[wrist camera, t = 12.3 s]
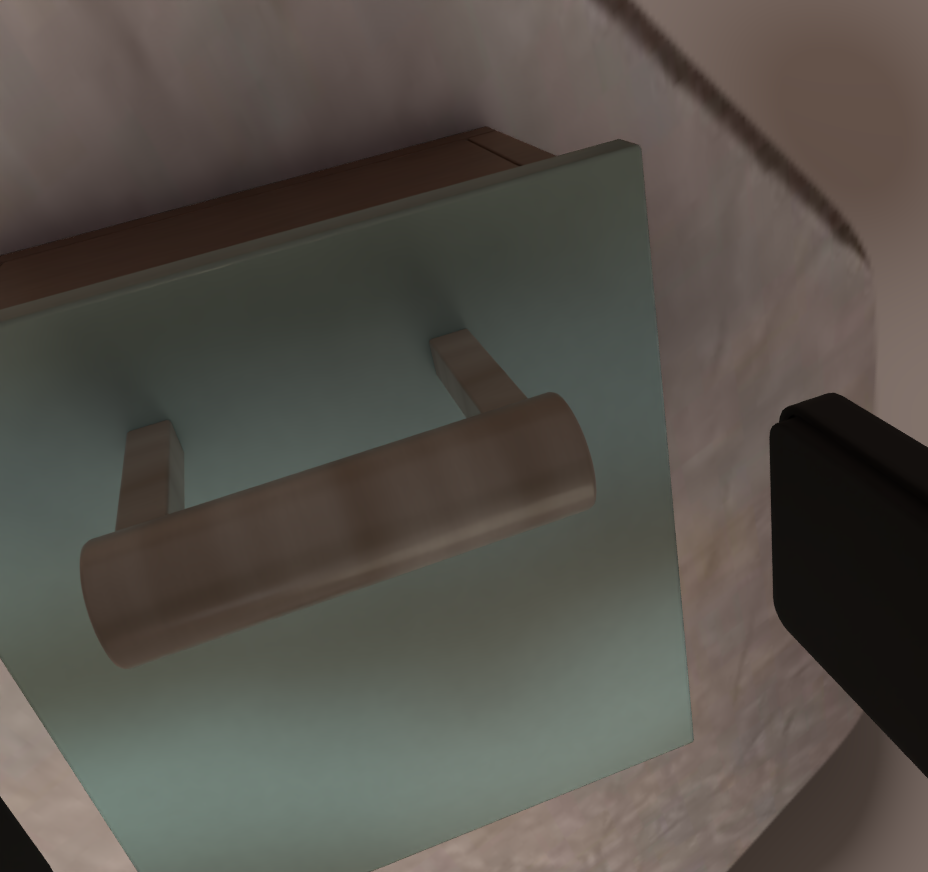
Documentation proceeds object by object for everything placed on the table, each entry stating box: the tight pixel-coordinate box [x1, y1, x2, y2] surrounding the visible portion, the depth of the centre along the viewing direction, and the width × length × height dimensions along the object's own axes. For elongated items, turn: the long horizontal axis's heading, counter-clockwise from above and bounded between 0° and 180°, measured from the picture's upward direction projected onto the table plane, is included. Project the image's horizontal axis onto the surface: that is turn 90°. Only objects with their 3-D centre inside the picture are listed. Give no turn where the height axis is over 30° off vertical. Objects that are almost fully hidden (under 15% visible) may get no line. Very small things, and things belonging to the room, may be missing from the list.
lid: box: [0, 139, 694, 872], centre depth 15 cm, size 14×13×6 cm
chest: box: [0, 127, 556, 310], centre depth 21 cm, size 14×13×8 cm
